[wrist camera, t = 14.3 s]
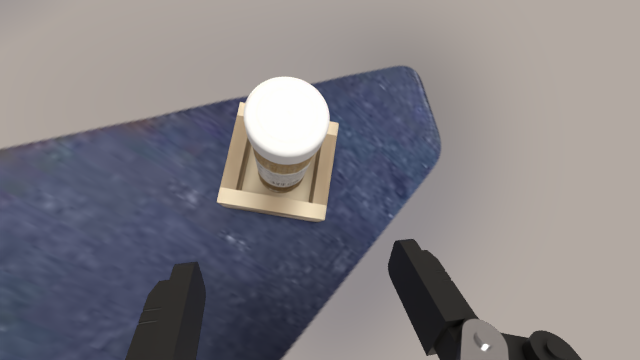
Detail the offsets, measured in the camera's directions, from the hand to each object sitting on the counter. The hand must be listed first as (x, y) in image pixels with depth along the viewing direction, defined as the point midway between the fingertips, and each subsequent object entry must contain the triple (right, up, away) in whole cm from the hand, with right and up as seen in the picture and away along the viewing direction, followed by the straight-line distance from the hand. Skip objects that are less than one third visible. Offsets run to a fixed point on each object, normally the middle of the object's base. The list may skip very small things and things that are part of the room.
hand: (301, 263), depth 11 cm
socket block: (-3, +4, +16) cm, 17 cm away
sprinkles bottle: (-3, +4, +16) cm, 17 cm away
